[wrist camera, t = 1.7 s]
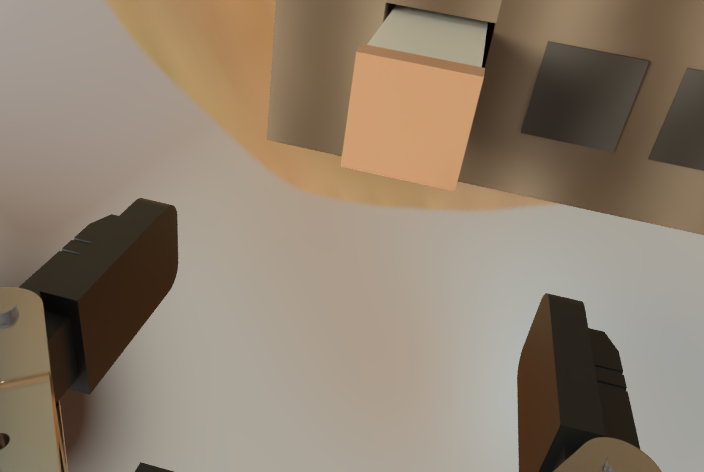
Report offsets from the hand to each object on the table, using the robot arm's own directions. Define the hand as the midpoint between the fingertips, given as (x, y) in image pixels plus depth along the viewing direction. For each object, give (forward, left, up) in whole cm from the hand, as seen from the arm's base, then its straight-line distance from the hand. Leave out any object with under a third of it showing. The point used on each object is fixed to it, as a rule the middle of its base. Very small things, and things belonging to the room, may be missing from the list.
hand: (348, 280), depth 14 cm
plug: (0, 0, -22) cm, 22 cm away
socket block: (-4, 0, -22) cm, 23 cm away
